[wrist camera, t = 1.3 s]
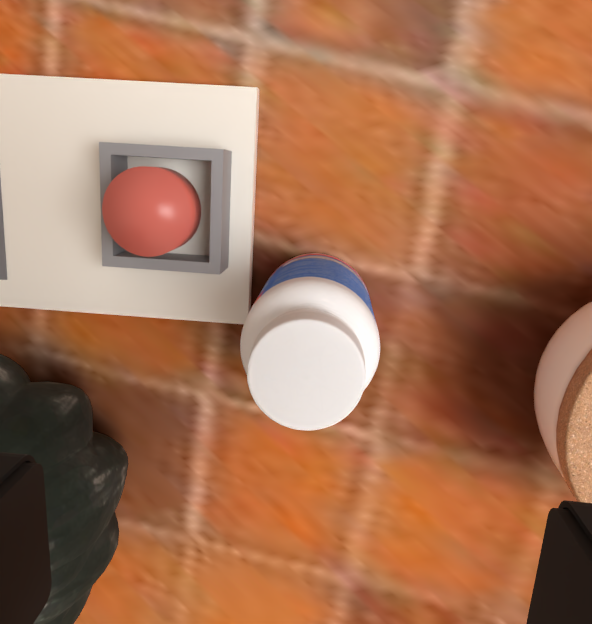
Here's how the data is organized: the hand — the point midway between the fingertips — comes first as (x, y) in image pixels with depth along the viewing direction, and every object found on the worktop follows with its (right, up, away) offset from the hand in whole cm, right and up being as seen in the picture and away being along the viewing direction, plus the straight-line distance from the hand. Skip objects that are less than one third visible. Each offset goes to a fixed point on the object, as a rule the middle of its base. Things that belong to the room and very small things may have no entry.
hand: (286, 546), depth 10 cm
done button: (-6, +9, +14) cm, 18 cm away
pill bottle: (+1, +5, +18) cm, 18 cm away
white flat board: (-12, +10, +17) cm, 23 cm away
